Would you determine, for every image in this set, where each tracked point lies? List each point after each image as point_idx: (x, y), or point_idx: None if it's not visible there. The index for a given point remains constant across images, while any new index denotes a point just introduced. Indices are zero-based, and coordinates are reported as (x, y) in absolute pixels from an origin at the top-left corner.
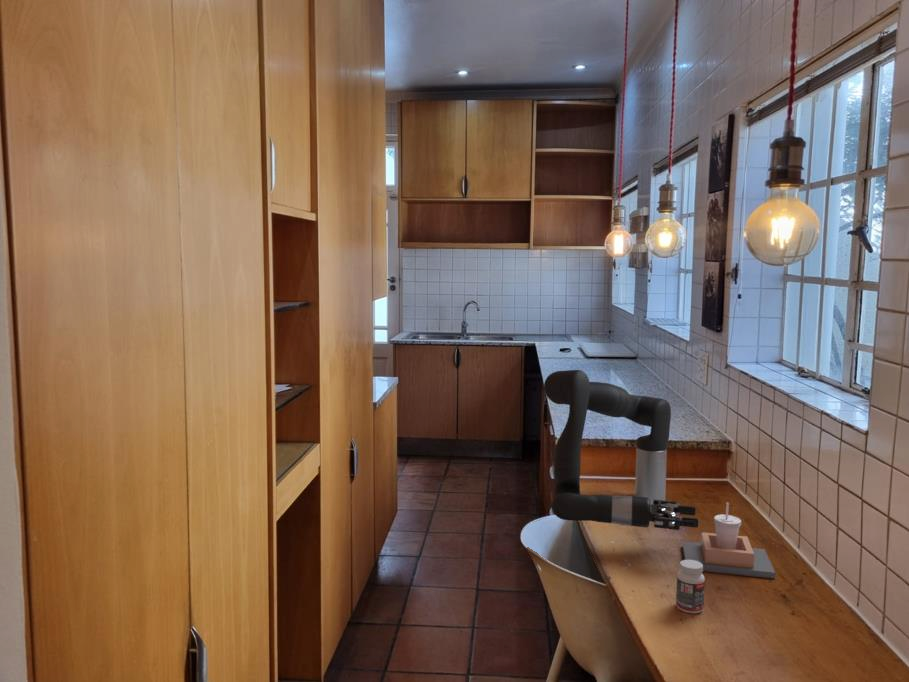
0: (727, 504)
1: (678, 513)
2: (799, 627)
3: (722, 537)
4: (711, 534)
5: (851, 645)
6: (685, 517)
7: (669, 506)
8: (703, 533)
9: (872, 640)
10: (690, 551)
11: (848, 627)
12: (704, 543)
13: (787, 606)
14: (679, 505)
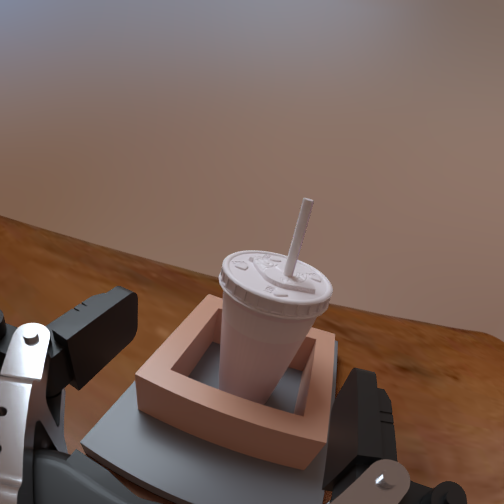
0: (311, 207)
1: (64, 391)
2: (485, 382)
3: (292, 353)
4: (167, 357)
5: (487, 352)
6: (369, 434)
7: (33, 429)
8: (148, 375)
9: (465, 333)
10: (187, 477)
11: (452, 339)
12: (261, 425)
13: (437, 376)
14: (50, 336)
